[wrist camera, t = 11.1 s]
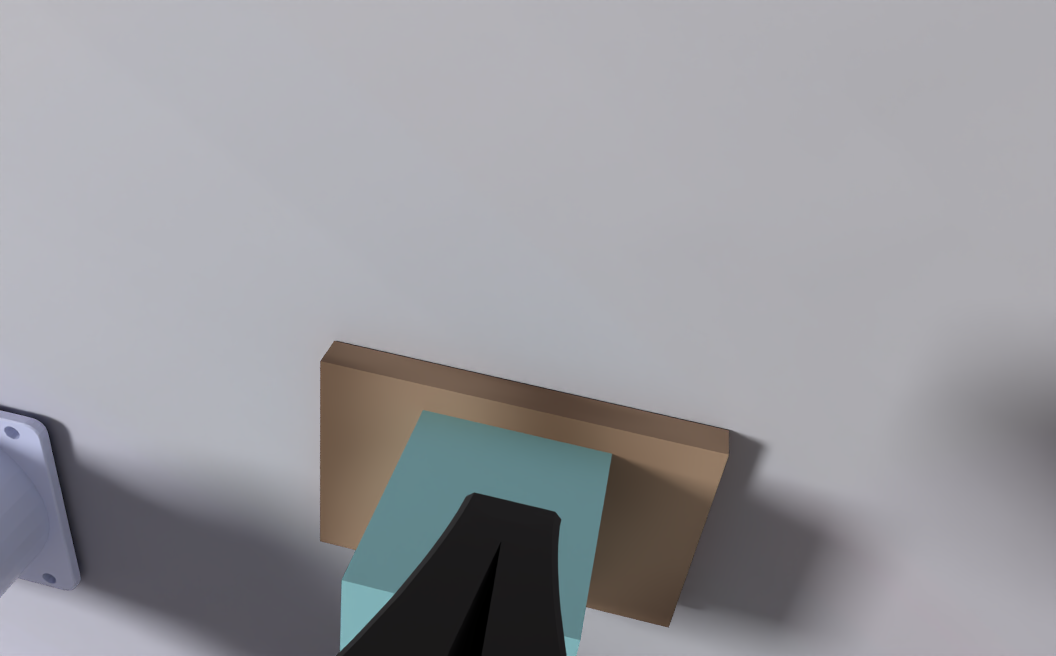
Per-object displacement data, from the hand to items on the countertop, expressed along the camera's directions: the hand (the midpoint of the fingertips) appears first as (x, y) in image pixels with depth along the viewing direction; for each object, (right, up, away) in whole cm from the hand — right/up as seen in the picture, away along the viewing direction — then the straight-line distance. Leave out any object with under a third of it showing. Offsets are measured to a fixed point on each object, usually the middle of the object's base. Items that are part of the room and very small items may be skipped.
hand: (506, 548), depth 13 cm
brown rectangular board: (0, -1, +13) cm, 13 cm away
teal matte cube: (0, -2, +12) cm, 12 cm away
